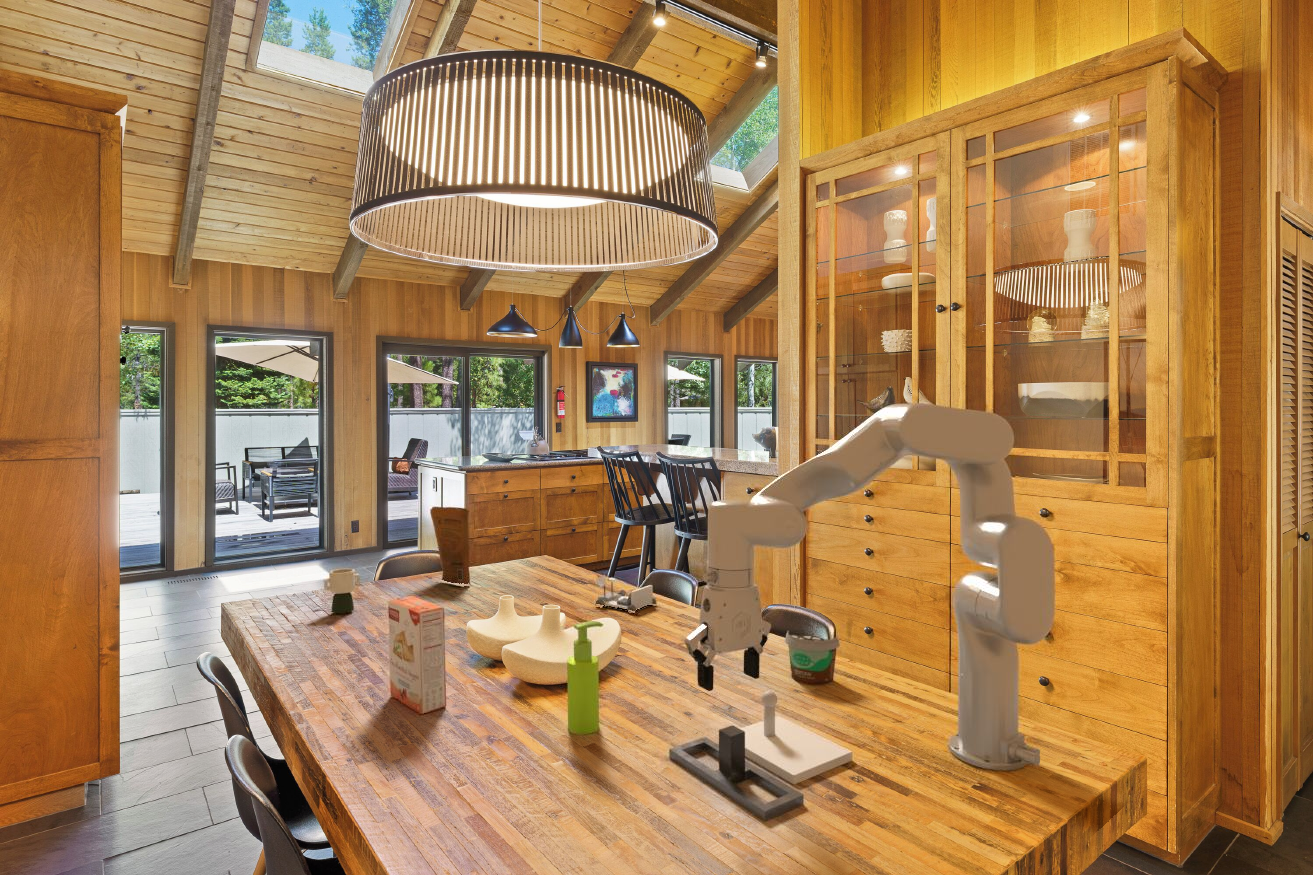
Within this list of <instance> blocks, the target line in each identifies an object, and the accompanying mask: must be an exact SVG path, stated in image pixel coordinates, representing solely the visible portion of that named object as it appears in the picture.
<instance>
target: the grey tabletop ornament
mask: <svg viewBox="0 0 1313 875" xmlns="http://www.w3.org/2000/svg"><path fill="white" fill-rule="evenodd" d="M596 576H597V579H596V580H594V583H595V584H596V585H597V586H601V587H603V594H602V595H599V596H598V597H597V600H596V601H595V605H596V604H600V605H609V606H614V607H619V608H626V609H627V610H632V611H636V609H638V608H642V607H644V606H647V605H649V604H656V605H657V603H658V602H657V600H656V598H655V597H654V596H653V595H654V594H653V593H654V592H653V589H654V588H653V585H652V584H649V585H646V586H642V587H640V588H638V589H637V588H636V589H634V590H632V591H630V593H629V595H628V596H627V592H626V591H625V590H624V589H621V590H620V591H619V592H617V593H613V592H614V588H613V587H614V586H613V584H614V583H616V578H612V577H610V578H608V579H607V578H606V575H605V574H603V575H601V576H599V574H597V575H596ZM607 581H608V583H611V586H610V587H611V592H607V593H606V584H607ZM647 607H648V606H647ZM644 608H645V607H644ZM642 609H643V608H642ZM627 610H626V611H627ZM636 612H637V611H636Z"/></svg>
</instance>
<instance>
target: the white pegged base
mask: <svg viewBox="0 0 1313 875" xmlns="http://www.w3.org/2000/svg"><path fill="white" fill-rule="evenodd" d="M761 702H762V705H763V720H762V721H759V722H755V723H753V724H749V725H747V726H743V727H740V728H739V729H741V730H743V731H744V732H745V758H747V759H749V760H751V761H753V763H754V762H755V763H757V764H758V765H760V766H761V767H763V768H765V769H766V770H768V771H770V772H771V773H773V774H775V775H776V776H778V777H780V778H782V779H784V780H786V781H787V782H789V783H791V784H792V785H796V784H799V783H801V782H804V781H806V780H808V779H811V778H813V777H816V776H818V775H820V774H822V773H826V772H827V771H830V770H832V769H835V768H838V767H840V766H842V765H844V764H847V763H849V762H851V761H852V762H853V751H852V750H849V749H848V748H846V747H843V746H841V745H840V744H837V743H835V742H833V741H831V740H829V739H828V738H824V737H822V736H821V735H819V734H816V733H815V732H812V731H811V730H808V729H806V728H804V727H802V726H800V725H798V724H796V723H794V722H792V721H791V720H788V719H786V718H783V717H782V716H780V715H776V705H777V703H778V695H777V694H775V692H773V691H772V690H766V691H764V692H763V694H762V695H761Z"/></svg>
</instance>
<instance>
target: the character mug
mask: <svg viewBox="0 0 1313 875" xmlns="http://www.w3.org/2000/svg"><path fill="white" fill-rule="evenodd" d="M355 570H356V569H354V568H337V569H332V570H330V571H329V578H326V579H324V581H323V588H324V591H329V592H331V593H332V594H334V595H333V596H332V603H331V613H333V614H334V613H335V614H337V613H339V614H347V613H346V612H348V613H351V612H353V611H354V610H355V606H354V601H353V595H352V593H351V592H353V591H354V590H355V588H356V585H357V586H358V585H359V584H361V583H360V582H361V580H360V579H361V575H360V574H359V573H355ZM328 583H329V584H328ZM328 585H329V586H328ZM350 611H351V612H350Z"/></svg>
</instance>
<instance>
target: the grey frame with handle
mask: <svg viewBox="0 0 1313 875" xmlns="http://www.w3.org/2000/svg"><path fill="white" fill-rule="evenodd" d="M704 751H705V752H706V753H707V754H708V755H710V756H713V757H714V758H716V759H717V760H718V769H716V770H714V769H712V768H710V767H709V766H708V765H706V764H704V763H703V762H701V761H700V760H698V759H697V758H695V757H693V756H692V755H696V754H699V753H701V752H704ZM668 752H669V759H670V760H671V759H672V761H674V762H676V763H677V764H678V763H679V766H681V767H683V768H684V767H685V768H684V769H686V770H687V769H688V770H687V771H689V772H690V773H691V774H693V775H695V776H697V777H698V778H699V779H700V780H702V781H704V782H705V783H707V784H709V785H710V786H711V787H713V788H714V789H716V790H717V791H719V792H720V793H722V794H724V795H725V796H726V797H728V798H729V799H730V800H732V801H733V802H735V803H736V804H738V805H739V806H741V807H742V808H744V809H745V810H746V811H748V812H750V813H751V814H753V815H754V816H756V817H757V818H758V819H760V820H762V821H763V822H767V821H770V820H772V819H774V818H776V817H778V816H780V815H783V814H785V813H787V812H789V811H792V810H795V809H797V808H798V807H800V806H803V805H804V803H805V802H804V798H805V795H804V793H801V792H800V791H798V790H796V789H794V788H793V787H791V786H789V785H788V784H786V783H784V781H781V780H779V779H777V778H776V777H775V776H773V775H771V774H770V773H768V772H766V771H764V770H763V769H761V768H759V767H758V766H756V765H754V764H752V763H751V762H750V761H749V762H748V761H747V760H746V756H745V732H744V731H743V730H741V729H740V728H739V727H737V726H735V725H732V724H731V725H729V726H726V727H723V728H720V729H718V743H716V741H713V740H712V739H710V738H708V737H706V736H703V737H700V738H697V739H695V740H691V741H689V742H686V743H683V744H679V745H677V746H674V747H670V748H669V749H668ZM749 779H750V780H751V781H753V782H755V783H756V784H758V785H760V786H761V787H763V788H764V789H766V790H767V791H769V792H770V793H772V794H774V795H776V796H777V798H775V799H772V800H771V801H768V802H763V801H762V800H760V799H759V798H758V797H756V796H754V795H752V794H751V793H750V792H748V791H747V790H745V789H743V788H741V787H740V786H738V785H737V784H739V783H742V782H745V781H748V780H749Z"/></svg>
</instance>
